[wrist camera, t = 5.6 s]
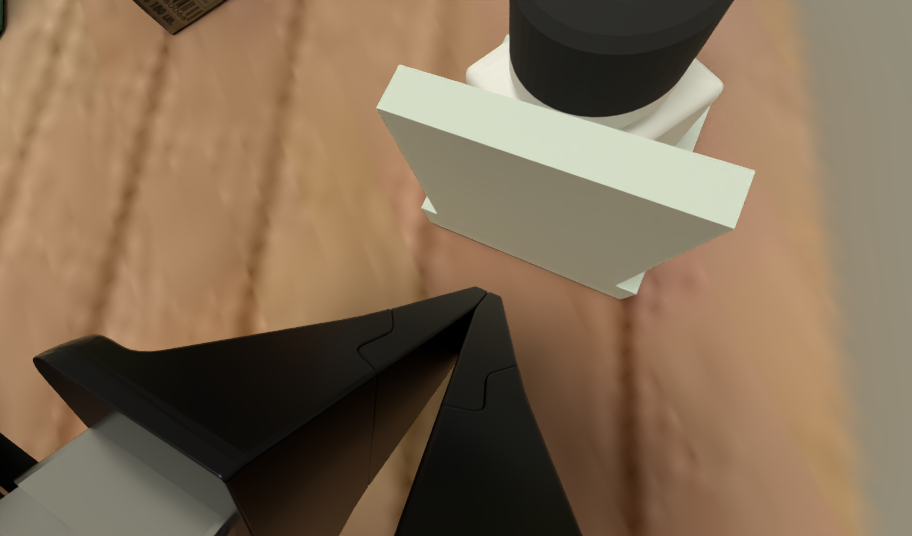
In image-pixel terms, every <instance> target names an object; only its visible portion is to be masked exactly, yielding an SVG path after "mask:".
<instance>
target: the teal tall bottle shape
mask: <svg viewBox="0 0 912 536" xmlns="http://www.w3.org/2000/svg"><path fill="white" fill-rule="evenodd" d="M2 27H3V0H0V32H1V29H2Z"/></svg>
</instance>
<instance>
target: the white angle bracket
mask: <svg viewBox="0 0 912 536" xmlns="http://www.w3.org/2000/svg"><path fill="white" fill-rule="evenodd" d="M507 40H509V35H506V37H505V39H504V41H503V43H505V42H506V41H507ZM503 43H502V44H503ZM709 108H710V106H709V107H708V109H707V110H706V111H705V112H704V113H703V114H702V115H701V117H700V118H699V119H698V120H697V121H696V122H695V123H694V125H693V126H692V127H691V128H690V129H689V130H688V131H687V133H686V134H685V135H684V136H683V137H682V138H681V139H680V141H679V142H678V143H677V144H676V145H675V146H671V145H667V144H664V143H661V142H657V141H654V140H651V139H647V138H644V137H641V136H637V135H634V134H631V133H627V132H624V131H620V130H617V129H614V128H610V127H607V126H604V125H600V124H597V123H594V122H590V121H587V120H584V119H580V118H577V117H574V116H570V115H567V114H564V113H560V112H557V111H554V110H550V109H547V108H543V107H540V106H537V105H533V104H530V103H527V102H523V101H520V100H517V99H513V98H510V97H507V96H503V95H500V94H497V93H493V92H490V91H487V90H483V89H480V88H477V87H473V86H470V85H466V84H463V83H460V82H456V81H453V80H450V79H446V78H443V77H440V76H436V75H433V74H430V73H426V72H423V71H420V70H416V69H413V68H410V67H406V66H403V65H400V64H399V66H398V68H397V70H396V72H395V74H394V76H393V78H392V79H391V81H390V83H389V85H388V87H387V89H386V91H385V93H384V94H383V96H382V98H381V100H380V102H379V104H378V106H377V110H378V112H379V113H380V115H381V117H382V119H383V120H384V122H385V124H386V126H387V127H388V129H389V131H390V133H391V134H392V136H393V138H394V139H395V141H396V143H397V145H398V146H399V148H400V150H401V152H402V153H403V155H404V157H405V159H406V160H407V162H408V164H409V166H410V167H411V169H412V171H413V173H414V174H415V176H416V178H417V179H418V181H419V183H420V185H421V186H422V188H423V190H424V192H425V193H426V195H427V197H426V199H425V201H424V203H423V205H422V207H421V208H422V210H423V211H424V213H425V214H426V216H427V217H428V219H429V220H430V222H431V223H434V224H436V225H438V226H441V227H443V228H446V229H448V230H451V231H453V232H456V233H458V234H460V235H463V236H465V237H468V238H470V239H473V240H475V241H478V242H480V243H482V244H485V245H487V246H490V247H492V248H495V249H497V250H500V251H502V252H504V253H507V254H509V255H512V256H514V257H517V258H519V259H522V260H524V261H526V262H529V263H531V264H534V265H536V266H539V267H541V268H544V269H546V270H548V271H551V272H553V273H556V274H558V275H561V276H563V277H566V278H568V279H570V280H573V281H575V282H578V283H580V284H583V285H585V286H588V287H590V288H592V289H595V290H597V291H600V292H602V293H605V294H607V295H609V296H612V297H614V298H617V299H619V300H621V299H624V298H627V297H630V296H633V295H636V294H637V292H638V289H639V287H640V284H641V281H642V279H643V276H644V274H645V271H647V270H649V269H651V268H653V267H655V266H657V265H659V264H662V263H664V262H666V261H668V260H670V259H672V258H674V257H676V256H678V255H680V254H683V253H685V252H687V251H689V250H691V249H693V248H695V247H697V246H699V245H702V244H704V243H706V242H708V241H710V240H712V239H714V238H716V237H718V236H720V235H723V234H725V233H727V232H729V231H731V230H733V229H735V226H736V223H737V220H738V218H739V215H740V212H741V209H742V207H743V204H744V201H745V198H746V196H747V193H748V190H749V187H750V184H751V182H752V179H753V176H754V173H755V171H754V170H751V169H748V168H744V167H741V166H738V165H734V164H731V163H728V162H724V161H721V160H718V159H714V158H711V157H708V156H704V155H701V154H697V153H694V152H692V151H693V149H694V146H695V144H696V141H697V139H698V136H699V134H700V131H701V128H702V126H703V123H704V121H705V118H706V116H707V113H708V111H709Z"/></svg>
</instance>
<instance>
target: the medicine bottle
mask: <svg viewBox="0 0 912 536" xmlns="http://www.w3.org/2000/svg"><path fill="white" fill-rule="evenodd" d="M733 1H734V0H510V18H509V40H507V41H506V42H505V43H503V44H502V45H500V46H499V47H497V48H496V49H494V50H493V51H492V52H490V53H489V54H487V55H486V56H484V57H483V58H481V59H480V60H479V61H477V62H476V63H474V64H473V65H471V66H470V67H469V68H468V69H467V73H466V81H467V85H470V86H473V87H477V88H480V89H483V90H487V91H490V92H493V93H497V94H500V95H503V96H507V97H510V98H513V99H517V100H520V101H523V102H527V103H530V104H533V105H537V106H540V107H543V108H547V109H550V110H554V111H557V112H560V113H564V114H567V115H570V116H574V117H577V118H580V119H584V120H587V121H590V122H594V123H597V124H600V125H604V126H607V127H610V128H614V129H617V130H620V131H624V132H627V133H631V134H634V135H637V136H641V137H644V138H647V139H651V140H654V141H657V142H661V143H664V144H667V145H671V146H675V145H676V144H677V143H678V142H679V141H680V139H681V138H682V137H683V136H684V135H685V134H686V133H687V131H688V130H689V129H690V128H691V127H692V126H693V125H694V123H695V122H696V121H697V120H698V119H699V118H700V117H701V115H702V114H703V113H704V112H705V111H706V110H707V109H708V107H709V106H710V105H711V104H712V103H713V102H714V101H715V99H716V98H717V97H718V96H719V95H720V94H721V92H722V90H723V83H722V81H721V80H720V79H718V78H717V77H716V76H715V75H714V74H713V73H712V72H711V71H709V70H708V69H707V68H706V67H705V66H704V65H703V64H702V63H700V62H699V61H698V60H697V59H696V58H695V57H696V56H697V54H698V53H699V51H700V50H701V48H702V47H703V45H704V44H705V42H706V41H707V39H708V38H709V36H710V35H711V33H712V32H713V30H714V29H715V27H716V26H717V24H718V23H719V21H720V20H721V18H722V17H723V15H724V14H725V12H726V11H727V9H728V8H729V6H730V5H731V3H732V2H733Z"/></svg>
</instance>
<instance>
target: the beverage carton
mask: <svg viewBox="0 0 912 536" xmlns="http://www.w3.org/2000/svg"><path fill="white" fill-rule="evenodd" d="M133 1H134V2H135V3H136V4H137V5H138V6H139V7H141V8H142V9H143V10H144V11H145V12H146V13H147V14H148V15H150V16H151V17H152V18H153V19H154V20H155V21H156V22H158V23H159V24H160V25H161V26H162V27H163V28H165V29H166V30H167V31H168V32H169V33H170V34H173V33H175V32H176V31H178V30H179V29H181V28H183V27H185V26H186V25H188V24H189V23H191V22H192V21H194V20H195V19H197V18H198V17H200V16H201V15H203V14H204V13H206V12H207V11H209V10H210V9H212V8H213V7H215V6H216V5H218V4H219V3H221V2H222V1H224V0H133Z"/></svg>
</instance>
